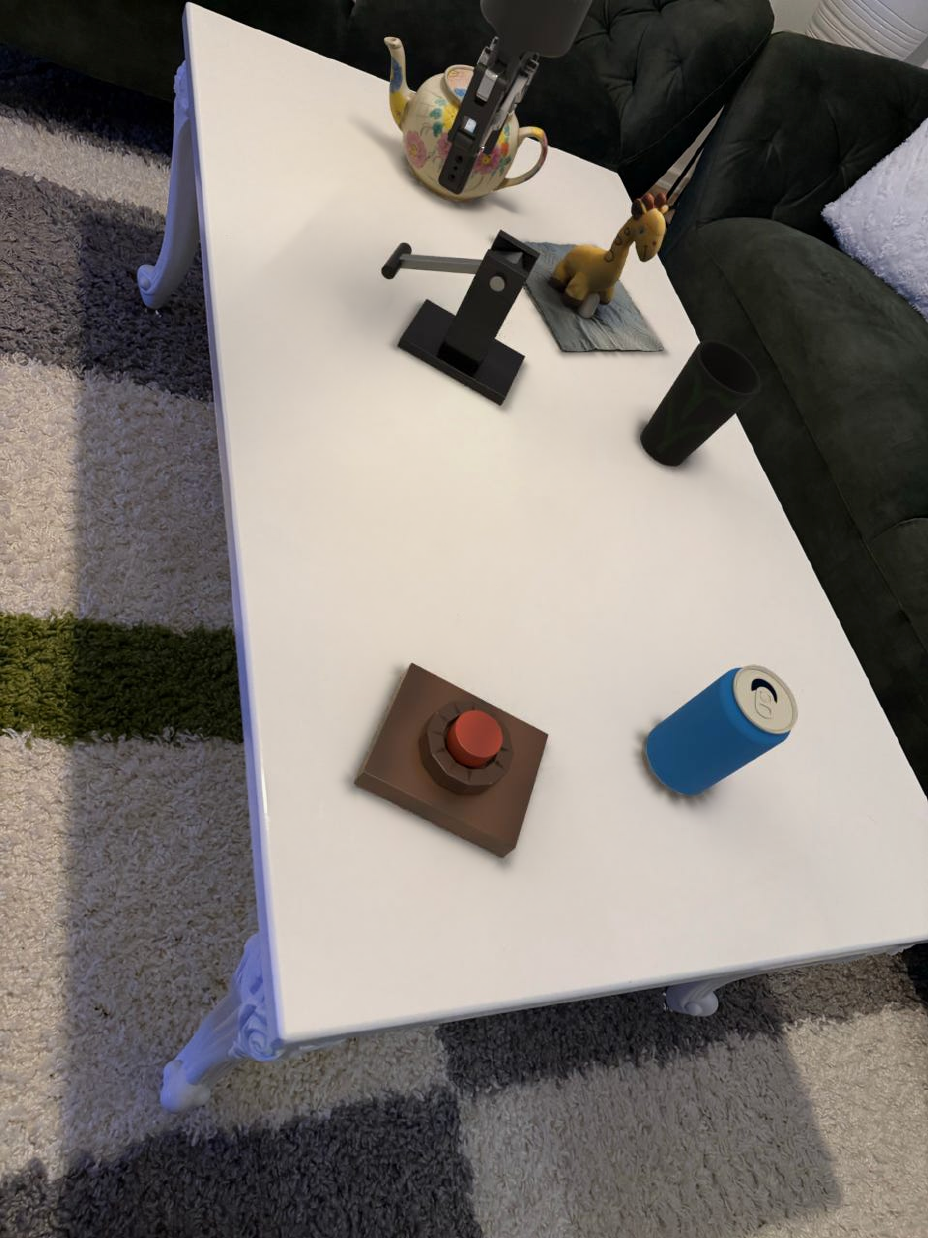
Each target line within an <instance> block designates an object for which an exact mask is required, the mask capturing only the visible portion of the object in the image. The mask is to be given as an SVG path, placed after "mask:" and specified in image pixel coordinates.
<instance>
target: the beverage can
mask: <svg viewBox="0 0 928 1238" xmlns="http://www.w3.org/2000/svg"><path fill="white" fill-rule="evenodd" d="M798 718H799V709H798V704H797V701H796V698H795V695H794V694H793V692H792V690H791V689H790V687H789V686H788V684H787V683H786V682H785V681H784V679H783V678H781V676H779V675H778V674H777V673H776V672H774V671H773V670H771V669H770V668H768V667H766V666H763V665H759V664H747V665H744V666H742V667H735V668H734V667H733V668H731V669H729V670H728V671H727V672H725V673H723V674H722V675H721V676H720V677H718V678H717V679H716V680H714V681H713V682H712V683H711V684H709V685H708V686H707V687H705V688H704V689H702V690H701V691H700V692H699V693H697V694H696V695H695V696H693V697H692V698H691V699H690V700H688V701H687V702H686V703H684V704H683V705H682V706H680V707H679V708H677V709H676V710H675V711H674V712H672V713H671V714H670V715H669V716H667V717H666V718H665V719H663V720H662V721H661V722H660V723H658V724H657V725H656V726H654V727H653V728H652V729H651V731H650V732H649V734H648V735H647V738H646V742H645V751H646V753H645V754H646V757H647V761H648V763H649V765H650V768H651V770H652V772H653V773H654V774H655V776H656V777H657V778H658V779H659V781H661V783H662V784H663V785H665V786H666V787H667V788H669V789H670V790H672V791H673V792H675V793H677V794H681V795H685V796H695V795H699V794H701V793H704V792H705V791H706V790H708V789H709V788H711V787H713V786H715V785H716V784H718V783H719V782H721V781H723V780H724V779H726V778H727V777H729V776H731V775H732V774H734V773H736V772H737V771H739V770H740V769H742V768H743V767H745V766H747V765H749V764H750V763H751V762H754V761H755V760H756V759H758V758H760V757H761V756H763V755H764V754H766V753H767V752H769V751H772V750H773V749H774V748H776V747H777V746H779V745H781V744H782V743H784V742H785V741H786V740H787V739H788V737H789V736H790V734H791V731H792V729H794V727H795V726H796V724H797V722H798Z"/></svg>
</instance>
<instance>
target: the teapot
mask: <svg viewBox="0 0 928 1238" xmlns="http://www.w3.org/2000/svg"><path fill="white" fill-rule="evenodd" d="M383 42H384V44H385V45H386V46H387V48H388V50H389V52H390V59H391V60H390V61H391V64H390V76H389V77H390V78H389V89H388V102H389V110H390V113H391V116H392V118H393V121H394V122H395V123H394V124H396V126H397V128H398V129H399V130H400V132H401V133H402V144H403V148H404V154H405V156H406V158H407V161H408V167H409V171H410V173H411V174H412V176H413V177H414V179H415V180H416V181H417V182H418V183H419V184H420V185H421V186H422V187H423V188H425V189H426V190H427V191H428V192H430V193H432V194H433V195H435V196H437V197H439V198H441V199H443V200H446V201H449V202H454V203H460V204H461V203H469V202H472V201H474V200H475V199H476V198H478V197H481V196H485V195H487V194H489V193H492V192H496V191H500V190H504V189H507V188H511V187H515V186H518V185H521V184H524V183H526V182H527V181H530V180H531V179H533V178H534V176H536V175H537V174H539V172H540V170H541V169H542V168H543V166H544V164H545V161H546V159H547V157H548V153H549V143H548V138H547V136H546V132H545V131H544V130H543V129H542V128H540V127H537V126H523V127H520V125H519V124H520V123H519V121H518V117H517V116H516V113H515V111H516V109H515V110H513V111H512V113H511V114H510V113H508V114H509V116H508V119H507V121H506V123H505V125H504V128H503V130H502V132H501V134H500V137H499V139H498V141H497V144H496V146H495V148H494V150H493V151H492V153H491V154H489V155H485V154H484V153H480V154H479V156H478V158H477V160H476V163H475V165H474V167H473V170H472V172H471V174H470V177H469V179H468V181H467V184H466V186H465V188H464V190H463V191H462V193H461V194H459V195H456V194H454V193H452V192H451V191H449V190H447V189H446V188H444V187H442V186H441V185H440V184H439V182H438V177H439V175H440V172H441V170H442V167H443V165H444V162H445V160H446V157H447V155H448V152H449V150H450V147H451V145H452V144H451V143H450V142H448V141H447V138H448V135H447V134H448V132H449V130H450V129H451V127H452V125H453V123H454V120H455V118H456V115H457V113H458V110H459V108H460V105H461V103H462V100H463V98H464V95H465V93H466V90H467V88H468V85H469V83H470V80H471V78H472V76H473V69H474V67H475V66H470V65H466V64H454V65H450V66H449V67H447V68H446V69H445V71H444V72H443V73H439V74H435V75H433V76H431V77H429V78H427V79H426V80H425V81H424V82H423V83H422V84H421V85H420V86H419V88H418V89H417V91H416V92H414V91H412V90H411V89H410V88H409V87H408V84H407V78H406V77H407V76H406V75H407V74H406V54H405V49H404V46H403V43H402V41H401V39H400V38H397V37H393V36H387V37H385V38H384V39H383ZM476 123H477V122H475V121H474V120H472V119H469V121H468V122H467V124H466V126H465V129H466V130H468V131H470V132H471V133H473V130H474V128H475V125H476ZM531 137H532V138H536V139H537V140H538V142H539V144H540V147H541V150H540V155H539V158H538V160H537V162H536V164H535V165H534V166H533V167H532V168H531V169H530V170H529V171H527V172H525V173H523V174H520V175H519V176H516V177H507V176H508V173H509V171H511V170H510V169H511V168H512V167H513V163H514V162H515V159H516V156H517V153H518V150H519V148H520V147H521V145H522V144H523V142H524V140H525V139H526V138H531Z"/></svg>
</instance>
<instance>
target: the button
mask: <svg viewBox="0 0 928 1238" xmlns="http://www.w3.org/2000/svg"><path fill="white" fill-rule="evenodd" d="M502 740H503V736H502V731H501V729H500V726H499V725H498V723H497V722H496V721H495V719H494V718H492V717H491V716H490V715H488V714H487V713H485V712H482V711H478V710H471V711H467V712H465V713H463V714H462V715H461V716H460V717H459V718H458V719H457V720H456V721H455V722H454V724H453V725H452V726H451V727H450V728H449V730H448V733H447V737H446V741H447V746H448V749H449V751H450V753H451V755H452V756H453V757H454V758H455V759H456V760H457V761H458V762H460V763H461V764H463V765H466V766H470V767H478V766H482V765H484V764H485V763H487V762H488V761H489V760H490V759H491V758H492V757H493V756H494V755H495V754H496V753H497V752H498V751H499V750H500V748H501V745H502Z"/></svg>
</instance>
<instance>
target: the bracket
mask: <svg viewBox="0 0 928 1238" xmlns="http://www.w3.org/2000/svg"><path fill="white" fill-rule="evenodd" d="M524 243H525V242H523V241H521V240H519V239H517V238H516V237H514V236H513V235H511V234H509V233H507V231H504V230H503V229H499V231H498V232H497V234H496V236H495V238H494V240H493V242H492V245H491V247H490V248H488V249H487V250H486V252H485V254H484V256H483V257H482V259H481V260H482V262H481V264H480V266H479V268H478V270H477V272H476V274H474V276H473V278H472V280H471V282H470V285H469V286H468V289H467V291H466V293H465V295H464V296H463V298H462V301H461V303H460V305H459V307H458V309H457V311H456V313H455V314H454V313H453V312H451V311H449V310H448V309H446V308H444V307H442V306H441V305H438V304H437V303H436V302H433V301H432V300H430V299H428V298H425V300H424V302H423V303H422V304H421V306H420V308H419V309H418V310H417V312H416V313H415V315H414V317H413V318H412V320H411V321H410V322H409V324H408V325H407V327H406V329H405V330H404V332H403V334H402V335H401V337H400V338H399V340H398V343H397V345H396V347H398V348H399V349H401V350H402V351H405V352H406V353H407V354H409V355H411V356H413V357H415V358H416V359H418V360H420V361H421V362H423V363H425V364H427V365H429V366H430V367H432V368H434V369H435V370H437V371H438V372H441V373H443V374H444V375H446V376H448V377H449V378H450V379H453V380H455V381H456V382H457V383H460V384H462V385H463V386H465V387H467V388H469V389H470V390H472V391H474V392H476V393H477V394H480V395H481V396H483V397H484V398H486V399H488V400H489V401H491V402H493V403H495V404H496V405H498V406H502V405H503V404H504V402H505V401H506V399H507V397H508V395H509V392H510V390H511V388H512V386H513V384H514V382H515V379H516V377H517V375H518V373H519V371H520V370H521V367H522V364H523V362H524V360H525V358H526V355H524V354H523V353H521V352H519V351H517V350H515V349H514V348H512V347H511V346H508V345H507V344H505V343H503V342H502V341H500V340H498V339H497V336H498V334H499V332H500V330H501V328H502V326H503V324H504V323H505V321H506V319H507V317H508V315H509V313H510V312H511V310H512V308H513V306H514V304H515V302H516V301H517V299H518V297H519V295H520V293H521V292H522V289H523V288H524V287H525V284H526V280H527V279H528V277H529V275H530V272H531V271H532V269H533V267H534V265H535V263H536V261H537V259H538V258H539V256H540V253H539V252H537V251H536V250H534V249H532V248H531V247H529V246H527V245H526V244H524ZM494 251H507V252H521V253H523V269H522V268H520V267H519V266H517V265H515V264H514V263H512V262H510V261H509V260H507V259H505V258H504V257H502V256H500V255H499V254H497V253H495V252H494Z"/></svg>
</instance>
